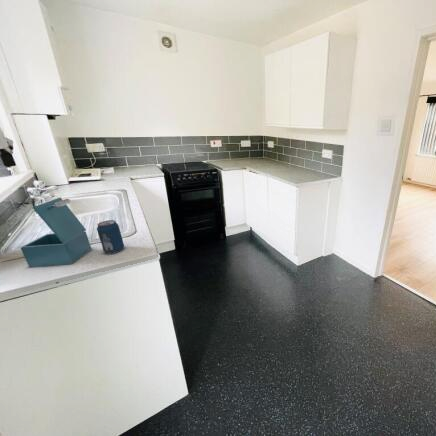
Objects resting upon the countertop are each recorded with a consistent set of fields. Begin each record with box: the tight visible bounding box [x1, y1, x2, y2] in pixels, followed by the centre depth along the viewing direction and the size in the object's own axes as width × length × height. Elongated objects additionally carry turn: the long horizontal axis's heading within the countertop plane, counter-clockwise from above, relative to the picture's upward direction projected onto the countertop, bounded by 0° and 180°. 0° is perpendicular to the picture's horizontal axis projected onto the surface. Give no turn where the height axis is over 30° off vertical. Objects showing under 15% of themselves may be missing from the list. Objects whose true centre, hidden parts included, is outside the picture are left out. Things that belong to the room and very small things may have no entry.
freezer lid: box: [31, 197, 87, 244], centre depth 89 cm, size 15×12×6 cm
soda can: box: [96, 219, 125, 255], centre depth 96 cm, size 7×7×12 cm
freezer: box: [20, 231, 92, 268], centre depth 92 cm, size 14×12×8 cm
